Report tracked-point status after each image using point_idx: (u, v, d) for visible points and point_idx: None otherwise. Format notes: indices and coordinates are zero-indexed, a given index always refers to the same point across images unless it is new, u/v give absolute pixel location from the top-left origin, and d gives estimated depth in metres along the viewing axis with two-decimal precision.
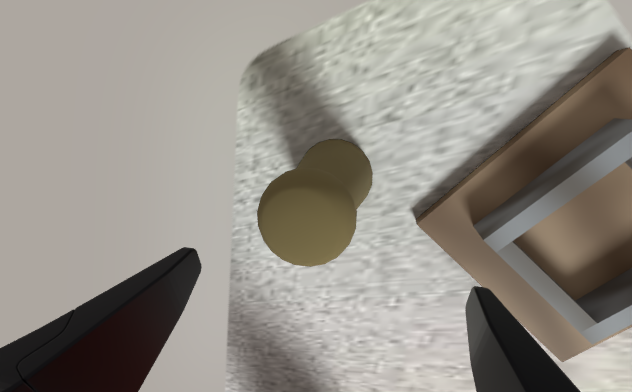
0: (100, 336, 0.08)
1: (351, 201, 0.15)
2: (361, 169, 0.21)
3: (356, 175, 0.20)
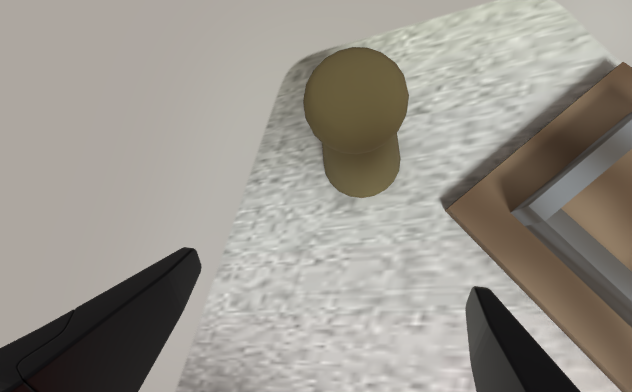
0: (100, 336, 0.08)
1: (405, 82, 0.15)
2: None
3: None
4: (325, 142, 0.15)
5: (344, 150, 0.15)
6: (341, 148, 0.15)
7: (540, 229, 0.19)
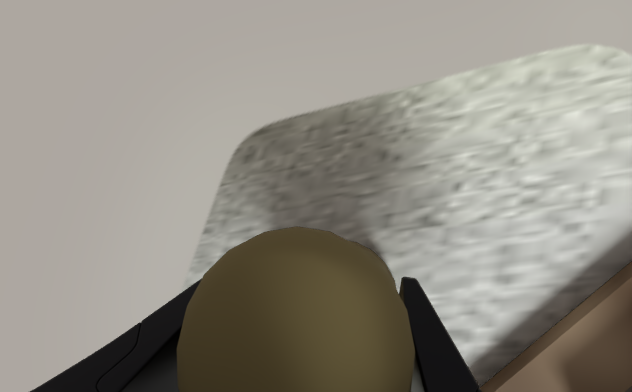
0: (170, 351, 0.07)
1: (406, 312, 0.07)
2: None
3: None
4: None
5: None
6: None
7: None
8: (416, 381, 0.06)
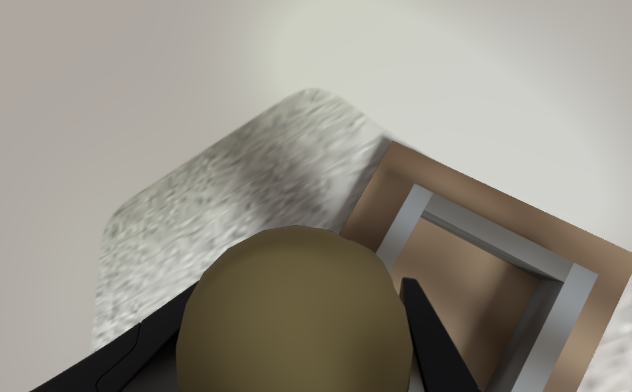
0: (170, 350, 0.07)
1: (404, 310, 0.07)
2: None
3: None
4: None
5: None
6: None
7: None
8: (416, 381, 0.06)
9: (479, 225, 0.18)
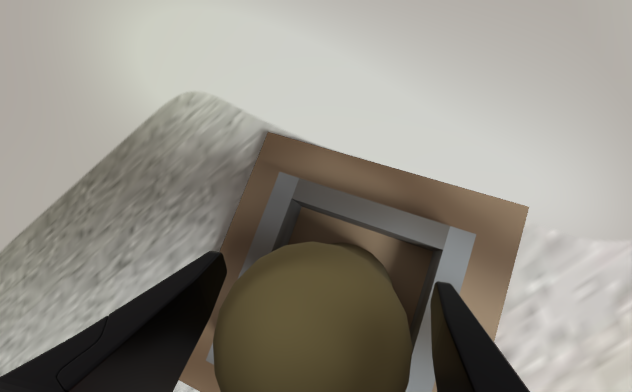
0: (135, 344, 0.07)
1: (406, 316, 0.08)
2: None
3: None
4: None
5: None
6: None
7: None
8: (464, 391, 0.06)
9: (349, 204, 0.16)
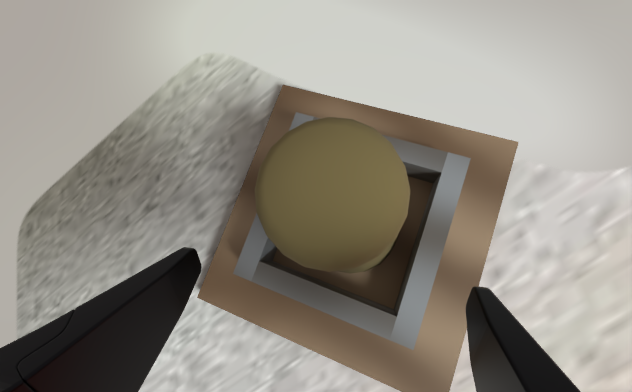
0: (100, 336, 0.08)
1: (405, 169, 0.10)
2: None
3: None
4: (286, 255, 0.10)
5: None
6: (309, 267, 0.10)
7: None
8: None
9: None
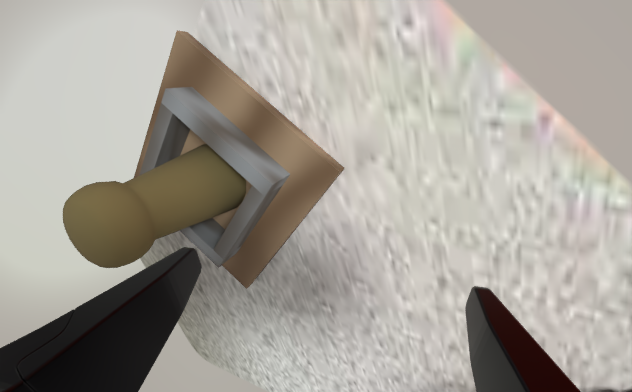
0: (100, 336, 0.08)
1: (95, 185, 0.17)
2: (184, 155, 0.23)
3: (168, 163, 0.22)
4: (135, 260, 0.18)
5: (143, 249, 0.18)
6: (139, 253, 0.18)
7: (234, 249, 0.26)
8: None
9: (150, 156, 0.25)
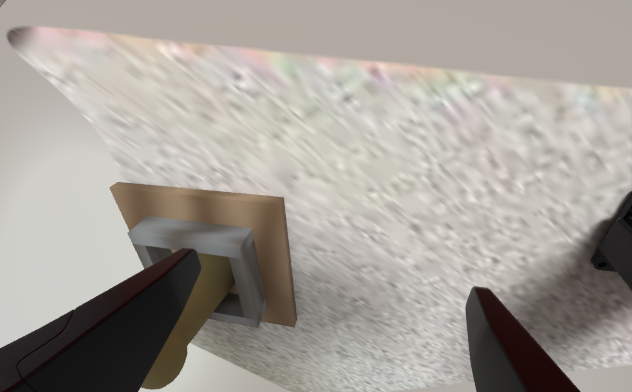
0: (101, 336, 0.08)
1: None
2: None
3: None
4: (180, 368, 0.22)
5: (179, 357, 0.22)
6: (178, 361, 0.22)
7: (260, 306, 0.30)
8: None
9: None
